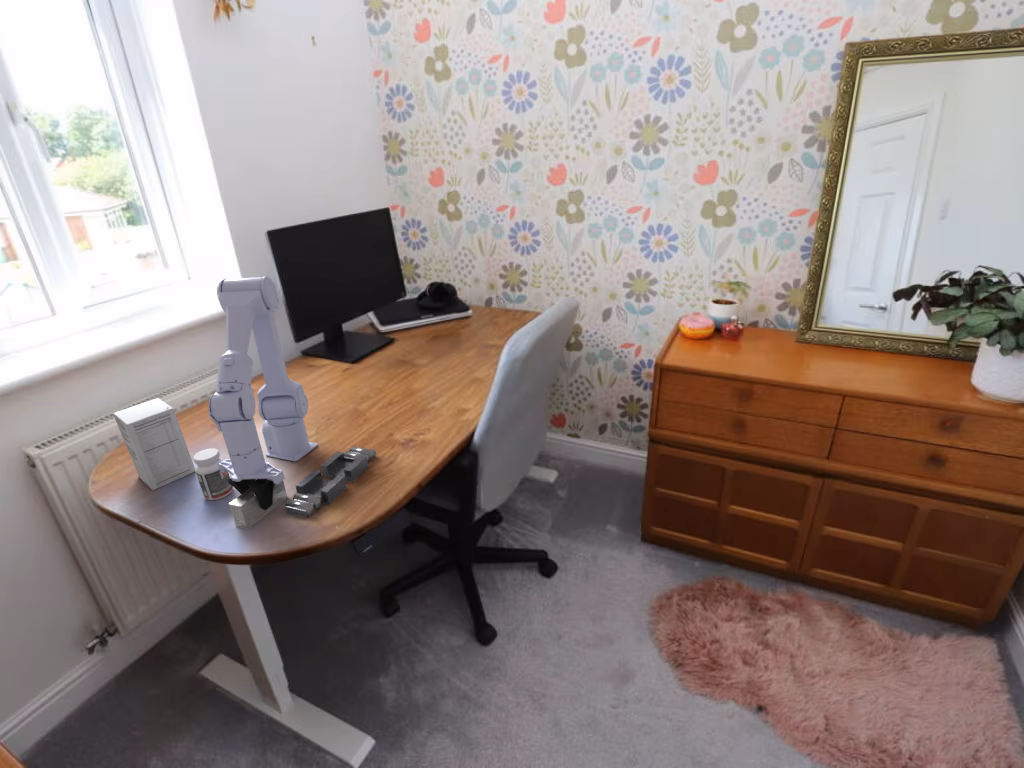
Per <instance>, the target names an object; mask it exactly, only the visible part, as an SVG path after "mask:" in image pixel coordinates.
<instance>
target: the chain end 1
mask: <svg viewBox="0 0 1024 768" xmlns="http://www.w3.org/2000/svg"><path fill="white" fill-rule="evenodd" d="M295 488H296V492H295V493H294V494H293V496H292V499H290V498H289V499H287V500H286V501H285V502H284V510H286V512H287V514H289V515H295V516H298V517H303V518H307V519H308V518H309V517H310V516H311V517H312V516H314V515H315V513H316V511H317V510H318V509H321V508H322V507H323V506H324V504H326V505H330V504H331V503H333V502H334V501H335V500H337V498H338V497H339V496H340V495H342V494H343V492H344V491H346V489H348V486H347V481H346V479H345V476H341V475H338V476H336V477H335V478H334V479H332V480H329V479H324V478H323V475H322V470H315V469H314V470H313V471H312V472H310V473H309V474H308V475H307V476H305V477H304V478H303V479H302V480H300V481H299V482H297V484H295Z"/></svg>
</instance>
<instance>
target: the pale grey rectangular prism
mask: <svg viewBox="0 0 1024 768" xmlns="http://www.w3.org/2000/svg"><path fill="white" fill-rule="evenodd" d="M287 497H288V494H287V490H286V485H285V482H284V480H283V481H281V482H280V483H279V484H275V486H274V490H273V505H271V506H270V507H269V508H268V509H267V510H263V509H262V507H261V506H260V503H259V501H258V498H257V496H256V495H255V493H254V492H253V491H252V490H251V489H250V488H249V489H248V490H246V491H245V492H244V493H242V494H239V495H238V496H237V497H236V498H234V499H232V501H230V502H229V503H228V506H229V509H230V513H231V515H232V518H233V522H234V525H235V527H237V528H241V529H245V530H249V529H250V528H252V526H254V525H255V524H256V523H258V522H259V520H261V519H262V518H263V517H265V516H266V515H267V514H268V513H270V512H271V511H272V510H273V509H275V508H276V507H277V506H278V505H279V504H281V503H282V502H283V501H284V500H286V499H287Z"/></svg>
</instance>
